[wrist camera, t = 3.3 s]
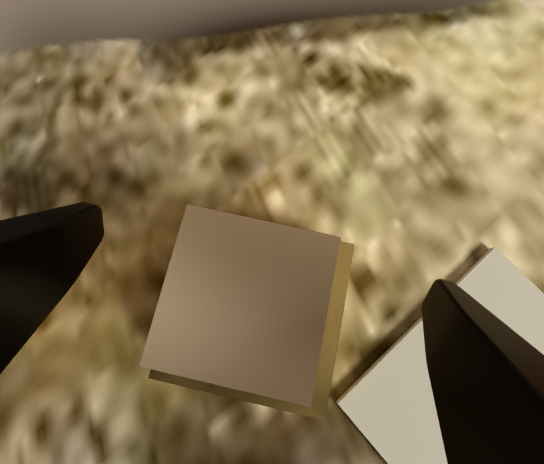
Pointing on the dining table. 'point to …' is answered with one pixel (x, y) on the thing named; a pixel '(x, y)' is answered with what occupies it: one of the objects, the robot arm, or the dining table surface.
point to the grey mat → (414, 373)
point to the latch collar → (325, 359)
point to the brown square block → (244, 305)
